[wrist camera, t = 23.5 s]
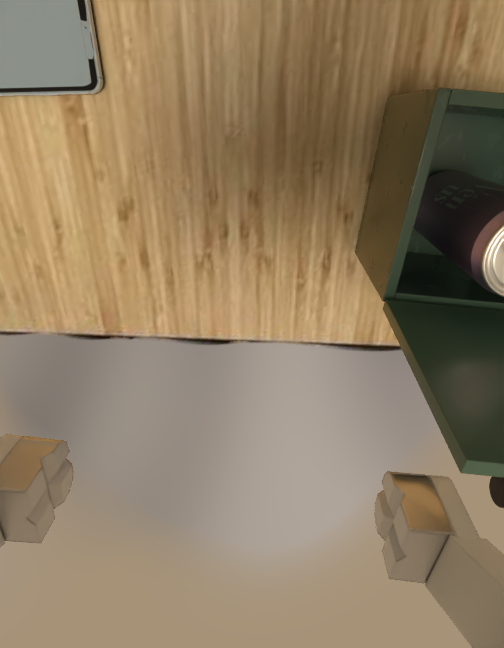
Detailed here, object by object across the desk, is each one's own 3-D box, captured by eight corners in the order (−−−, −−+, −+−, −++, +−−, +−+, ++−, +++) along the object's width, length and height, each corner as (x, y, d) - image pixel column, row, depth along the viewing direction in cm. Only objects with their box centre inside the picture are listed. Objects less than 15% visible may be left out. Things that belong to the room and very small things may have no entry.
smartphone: (-101, -11, 31) (83, -20, 30) (-91, -7, 32) (89, -16, 30) (-64, 98, 34) (102, 94, 33) (-56, 98, 35) (107, 94, 34)
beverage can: (423, 248, 38) (500, 320, 25) (395, 196, 36) (463, 244, 23) (485, 212, 36) (604, 268, 23) (458, 154, 34) (573, 180, 21)
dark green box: (387, 96, 33) (438, 87, 23) (538, 110, 33) (659, 107, 22) (354, 252, 39) (382, 301, 29) (480, 264, 39) (554, 318, 29)
